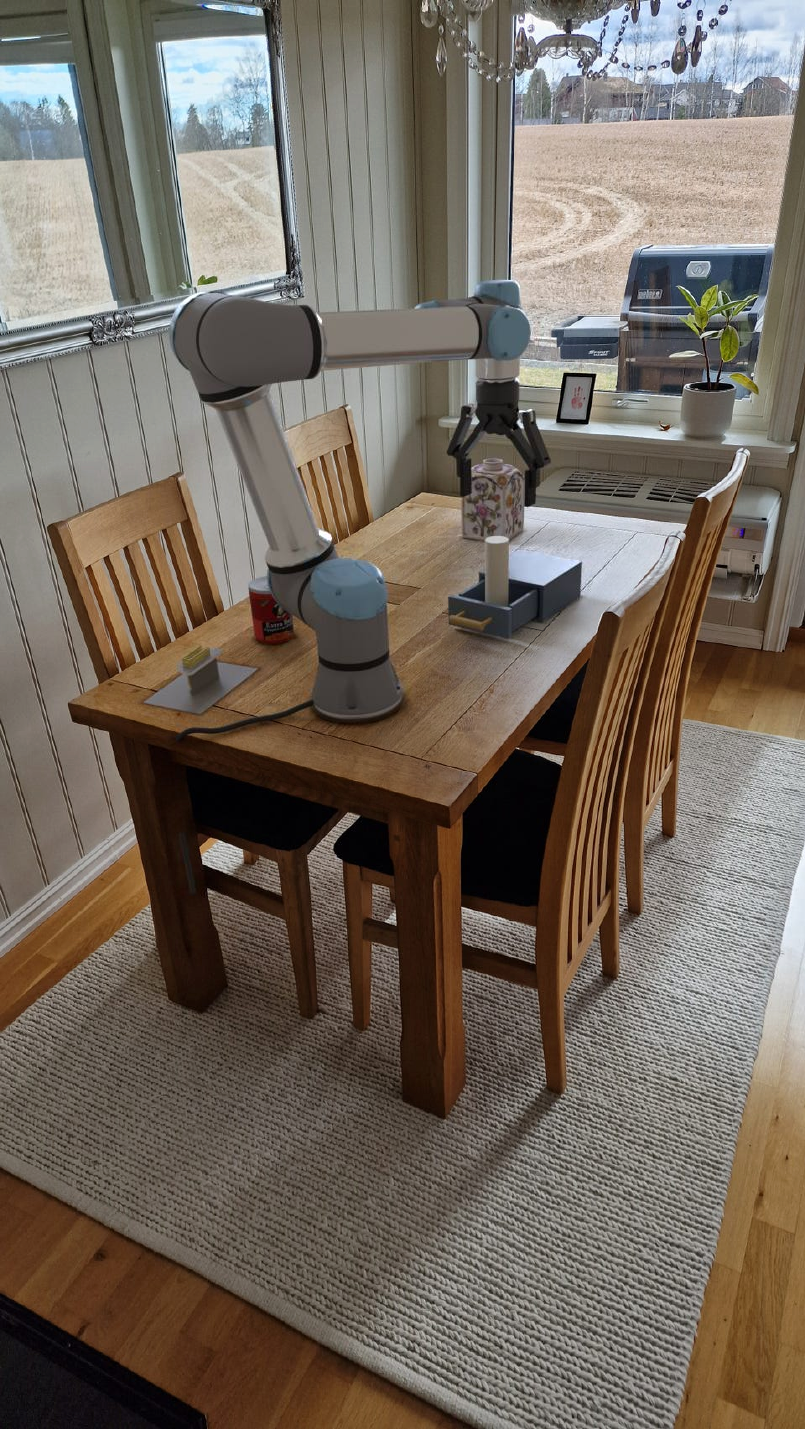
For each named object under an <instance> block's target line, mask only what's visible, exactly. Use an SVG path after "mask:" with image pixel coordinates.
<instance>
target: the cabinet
mask: <svg viewBox="0 0 805 1429" xmlns="http://www.w3.org/2000/svg"><path fill="white" fill-rule="evenodd" d="M582 569H583V561H582V560H577V559H573V558H566V557H561V556H556V555H551V554H546V553H541V552H535V551H529V550H524V549H518V550H516V551H514V552H511V553H509V581H508V582H510V583H514V584H519V585H524V586H528V587H533V588H538V589H540V607H539V614H538V615H537V616H535V617H534V618H532V619H531V620H530V621H532V622H533V621H534V622H538V623H544V622H546V621H548V620H549V619H550V618H552V617H553V616H554V615H556V614H558V613H559V612H560V611H562V610H563V609H565V608H566V607H567V606H569V605H570V604H572V603H574V602H575V601H576V600H579V598H581V590H582V571H583V570H582ZM483 579H485V568H484V569H482V570H480V571H479V572H478V582H480V581H481V580H483Z"/></svg>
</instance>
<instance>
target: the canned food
mask: <svg viewBox="0 0 805 1429" xmlns="http://www.w3.org/2000/svg"><path fill="white" fill-rule="evenodd" d="M248 597H249V605H250V611H251V612H250V613H251V618H252V625H253V634H254V637H255V639H256V641H258V642H259V643H262V644H265V645H279V644H282V643H283V644H284V643H286V642H288V641H289V640H291V639H293V637H294V632H295V627H294V617H293V615H292V614H290V613H289V612H287V611H285V610H284V609H283V608H282V607H281V606H280V605H279V604H278V603H277V602H276V600H275V599H274V597H273V596H272V594H271V592H270V590H269V587H268V583H267V575H265V576H259V577H257V578H254V579H252V580H251V581H249V583H248Z"/></svg>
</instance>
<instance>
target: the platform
mask: <svg viewBox="0 0 805 1429" xmlns="http://www.w3.org/2000/svg"><path fill="white" fill-rule="evenodd" d="M222 654H223V649H222V648H217V647H215V648H214V647H213V648H210V645H206V647H205V648H204V649H202V644H199V645H198V646H197V647H195V648H194V649H193V650H190V651H189V652H188V653H187V654H185V655H184V656H182V657H181V662H180V663H179V664H177V665H176V671H177V672H179V673H180V674H181V675H179V676H178V677H176V678H175V679H174V680H172V681H171V682H169V683H168V684H166V685H165V686H163V687H162V688H160V690H158V691H157V692H155V693H154V694H153V695H151V696H150V697H148V698H147V699H146V700H144V701H143V702H142V703H143V704H148V705H151V706H158V707H163V708H167V709H172V710H178V711H183V712H188V713H191V714H198V715H201V714H203V713H204V712H205V711H207V710H208V709H210V708H211V706H213V705H214V704H216V703H217V702H218V701H220V700H221V699H222V698H223V697H225V696H226V695H227V694H229V692H231V691H232V690H234V689H235V688H236V687H237V686H239V685H240V684H241V683H242V682H243V681H245V680H247V679H248V678H249V677H250V676H251V675H252V674H254V673H255V672H256V671H258V668H256V667H249V666H246V665H245V666H244V665H238V664H233V663H227V662H221V661H218V660H217V658H218V657H219V656H221V655H222Z"/></svg>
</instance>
